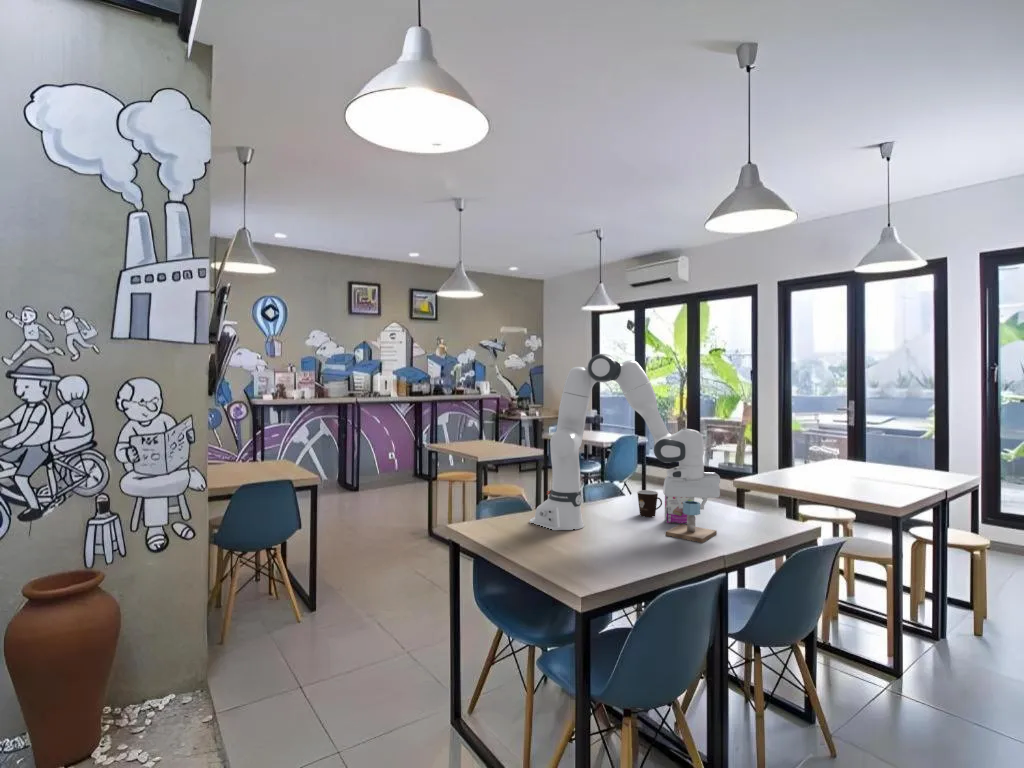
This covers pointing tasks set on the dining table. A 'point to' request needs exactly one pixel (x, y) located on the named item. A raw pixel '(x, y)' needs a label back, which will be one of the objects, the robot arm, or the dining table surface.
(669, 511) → the candy bar box
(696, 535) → the shaft stand
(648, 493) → the coffee mug
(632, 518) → the dining table surface
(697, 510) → the blue faceted pot
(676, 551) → the dining table surface
